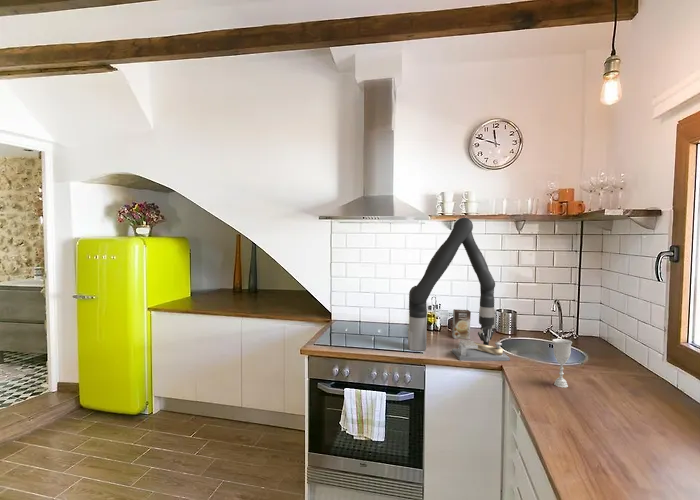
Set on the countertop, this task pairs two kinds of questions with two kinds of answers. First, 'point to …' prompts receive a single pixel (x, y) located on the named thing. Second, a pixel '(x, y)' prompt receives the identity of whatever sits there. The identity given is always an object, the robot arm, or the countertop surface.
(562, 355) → the chalice
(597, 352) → the countertop surface
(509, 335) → the countertop surface
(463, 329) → the coffee box
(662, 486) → the countertop surface
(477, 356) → the hinge plate
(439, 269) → the robot arm
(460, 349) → the keeper
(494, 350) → the link
